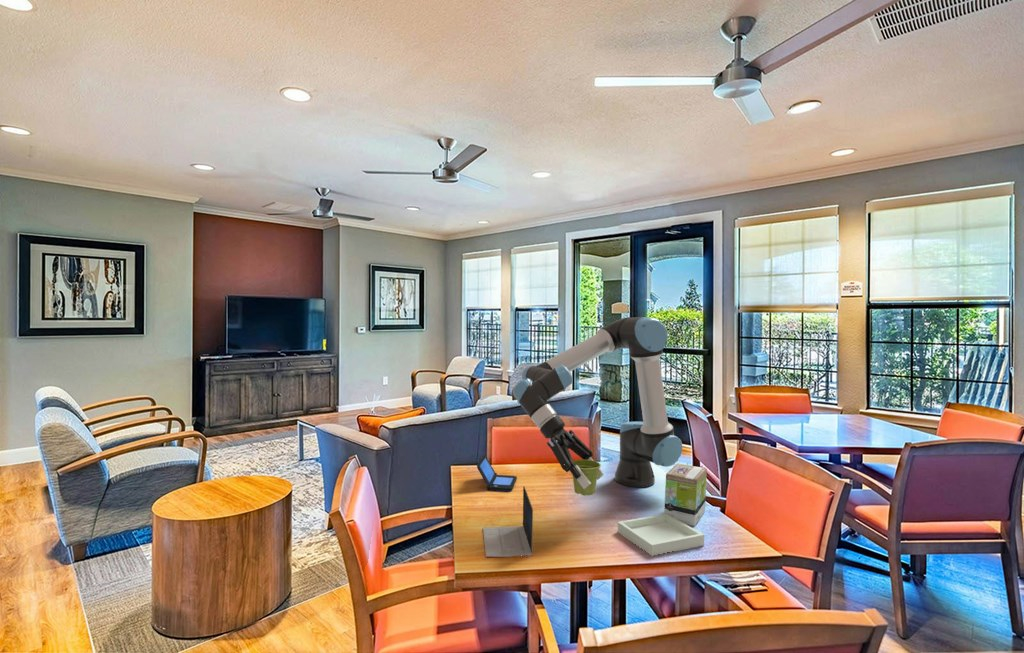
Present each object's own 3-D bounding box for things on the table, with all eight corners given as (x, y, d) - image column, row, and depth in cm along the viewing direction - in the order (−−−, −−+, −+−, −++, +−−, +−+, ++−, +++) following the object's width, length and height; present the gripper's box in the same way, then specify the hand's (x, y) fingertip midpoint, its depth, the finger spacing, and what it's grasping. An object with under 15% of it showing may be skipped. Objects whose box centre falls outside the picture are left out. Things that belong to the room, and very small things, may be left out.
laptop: (482, 529, 149) (483, 486, 149) (524, 528, 150) (524, 485, 150) (485, 559, 131) (486, 509, 131) (532, 557, 132) (533, 508, 132)
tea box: (696, 527, 152) (697, 479, 152) (663, 519, 158) (664, 473, 157) (706, 511, 165) (707, 467, 165) (675, 504, 170) (676, 461, 170)
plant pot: (574, 498, 145) (575, 469, 145) (564, 488, 154) (565, 460, 154) (605, 497, 147) (605, 467, 147) (593, 486, 156) (593, 458, 156)
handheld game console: (511, 492, 181) (512, 467, 180) (475, 490, 182) (476, 465, 182) (517, 479, 196) (517, 455, 196) (483, 477, 198) (484, 453, 198)
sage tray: (666, 523, 155) (666, 513, 155) (704, 545, 140) (704, 534, 140) (617, 531, 148) (617, 521, 148) (651, 556, 133) (652, 545, 133)
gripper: (557, 423, 168) (600, 478, 159) (522, 436, 149) (569, 499, 141) (571, 409, 165) (616, 465, 156) (538, 420, 146) (587, 484, 138)
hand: (594, 481), depth 149 cm, fingers closed on plant pot, 9 cm apart
